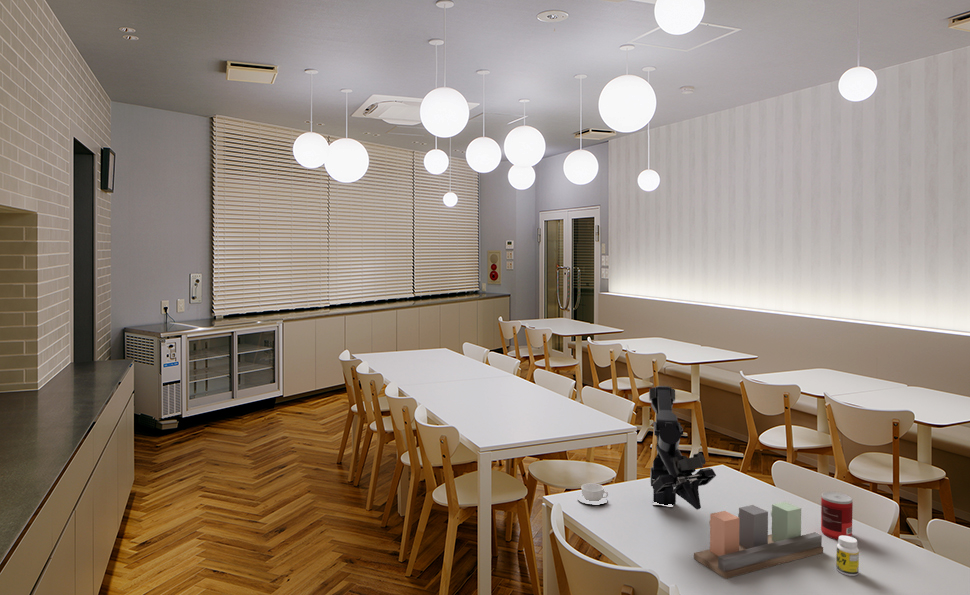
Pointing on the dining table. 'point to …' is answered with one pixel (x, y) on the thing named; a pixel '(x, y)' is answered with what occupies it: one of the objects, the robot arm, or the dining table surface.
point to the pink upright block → (724, 533)
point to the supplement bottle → (847, 556)
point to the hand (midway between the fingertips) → (699, 508)
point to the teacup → (593, 491)
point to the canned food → (836, 514)
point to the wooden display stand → (761, 555)
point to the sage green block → (785, 521)
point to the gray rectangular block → (753, 526)
